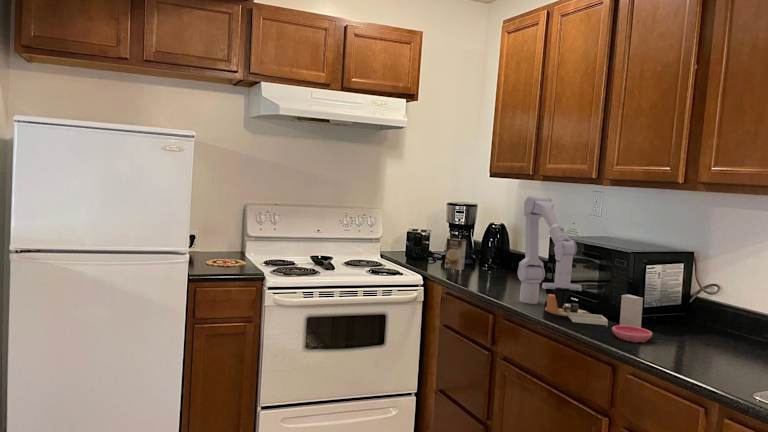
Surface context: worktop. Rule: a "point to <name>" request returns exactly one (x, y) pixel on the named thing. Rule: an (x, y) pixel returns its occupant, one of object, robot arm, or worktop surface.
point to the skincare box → (631, 310)
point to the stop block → (552, 303)
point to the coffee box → (455, 253)
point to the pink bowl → (632, 333)
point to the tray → (588, 318)
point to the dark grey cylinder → (571, 308)
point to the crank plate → (564, 311)
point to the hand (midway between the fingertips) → (559, 308)
